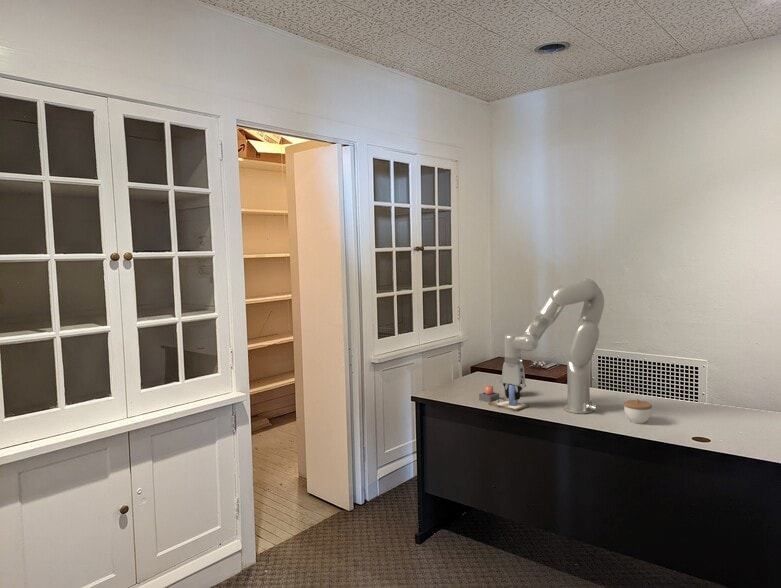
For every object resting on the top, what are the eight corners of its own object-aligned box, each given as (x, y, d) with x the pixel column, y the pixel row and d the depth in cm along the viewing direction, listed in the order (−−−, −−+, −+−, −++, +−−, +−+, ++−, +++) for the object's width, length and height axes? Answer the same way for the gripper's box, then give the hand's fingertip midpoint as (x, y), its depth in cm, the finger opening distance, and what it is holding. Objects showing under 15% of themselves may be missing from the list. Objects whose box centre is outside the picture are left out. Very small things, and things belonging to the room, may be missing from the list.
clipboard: (529, 406, 253) (528, 404, 253) (516, 411, 246) (516, 409, 246) (501, 400, 265) (501, 398, 265) (488, 404, 258) (488, 402, 258)
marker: (519, 404, 253) (519, 379, 252) (514, 405, 251) (514, 380, 249) (512, 402, 256) (511, 377, 255) (507, 404, 254) (506, 379, 253)
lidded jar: (628, 425, 223) (628, 403, 222) (620, 417, 234) (620, 396, 233) (655, 425, 222) (655, 403, 221) (646, 417, 232) (646, 396, 231)
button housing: (499, 399, 266) (499, 393, 266) (490, 402, 262) (490, 396, 261) (488, 396, 272) (488, 391, 271) (479, 399, 267) (479, 393, 267)
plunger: (495, 396, 266) (494, 386, 266) (489, 398, 264) (489, 388, 263) (488, 395, 269) (488, 385, 269) (483, 396, 267) (483, 386, 266)
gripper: (532, 361, 248) (533, 400, 249) (502, 356, 260) (503, 393, 262) (523, 364, 243) (523, 403, 245) (493, 359, 255) (493, 397, 257)
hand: (513, 398), depth 253 cm, fingers closed on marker, 4 cm apart
